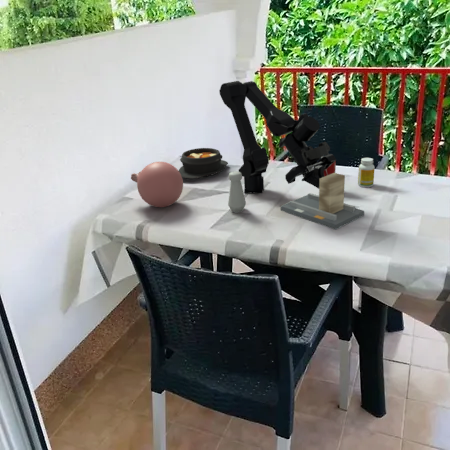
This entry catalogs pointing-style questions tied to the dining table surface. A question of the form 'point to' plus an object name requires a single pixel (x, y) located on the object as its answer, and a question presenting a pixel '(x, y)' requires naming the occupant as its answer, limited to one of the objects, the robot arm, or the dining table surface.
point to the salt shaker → (236, 193)
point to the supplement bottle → (366, 173)
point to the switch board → (321, 212)
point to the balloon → (159, 184)
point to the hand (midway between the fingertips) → (325, 190)
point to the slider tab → (331, 193)
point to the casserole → (201, 163)
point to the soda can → (330, 169)
